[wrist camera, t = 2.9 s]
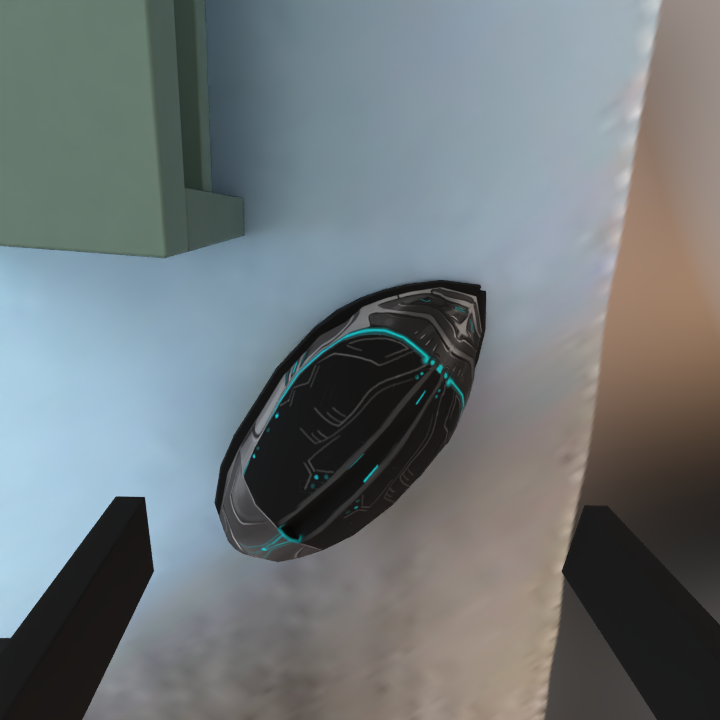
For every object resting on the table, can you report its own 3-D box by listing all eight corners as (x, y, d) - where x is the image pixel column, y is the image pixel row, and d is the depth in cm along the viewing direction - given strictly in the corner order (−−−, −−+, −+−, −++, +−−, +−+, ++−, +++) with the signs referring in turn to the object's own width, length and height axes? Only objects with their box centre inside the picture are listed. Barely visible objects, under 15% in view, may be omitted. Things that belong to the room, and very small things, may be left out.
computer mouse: (531, 346, 20) (608, 396, 15) (302, 547, 23) (295, 649, 18) (416, 215, 17) (458, 217, 12) (175, 462, 20) (122, 552, 15)
